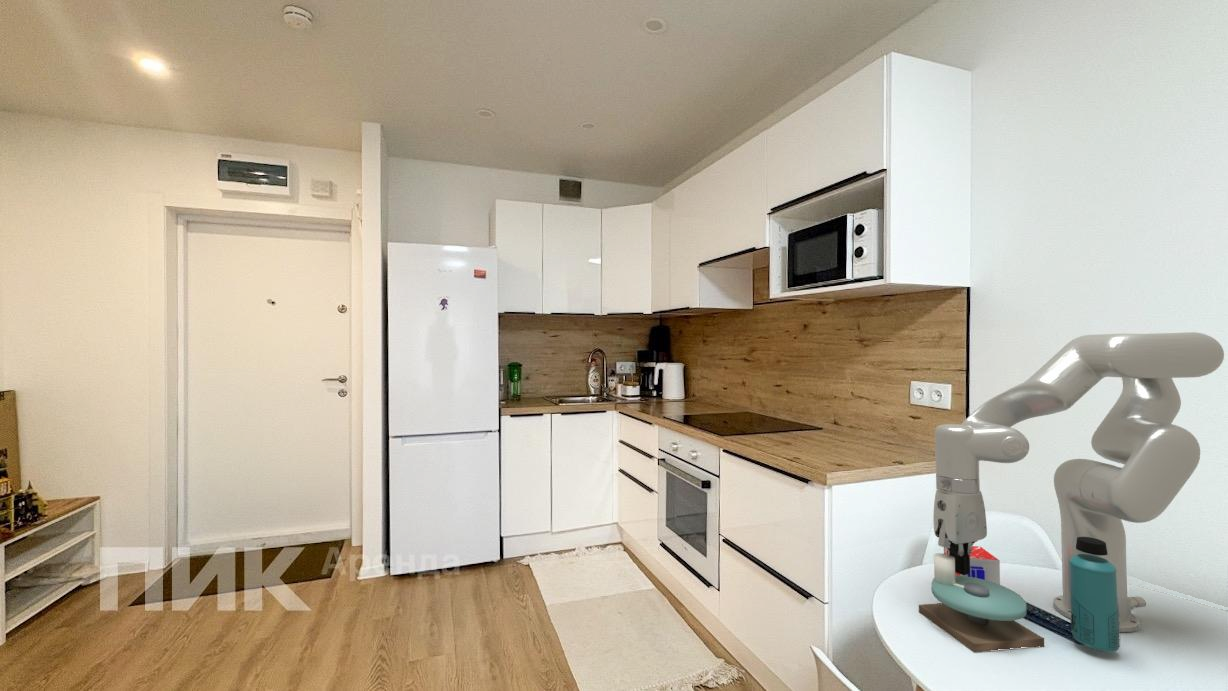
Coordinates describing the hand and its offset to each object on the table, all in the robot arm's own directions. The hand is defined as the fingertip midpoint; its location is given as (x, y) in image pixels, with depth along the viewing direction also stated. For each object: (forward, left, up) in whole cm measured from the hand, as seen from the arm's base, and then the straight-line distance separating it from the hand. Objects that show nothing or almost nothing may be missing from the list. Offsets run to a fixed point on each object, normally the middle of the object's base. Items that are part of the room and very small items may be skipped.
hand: (959, 571), depth 103 cm
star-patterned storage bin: (-11, -10, -9) cm, 17 cm away
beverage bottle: (-13, +15, -9) cm, 22 cm away
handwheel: (+2, +6, -3) cm, 7 cm away
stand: (+2, +6, -8) cm, 10 cm away
